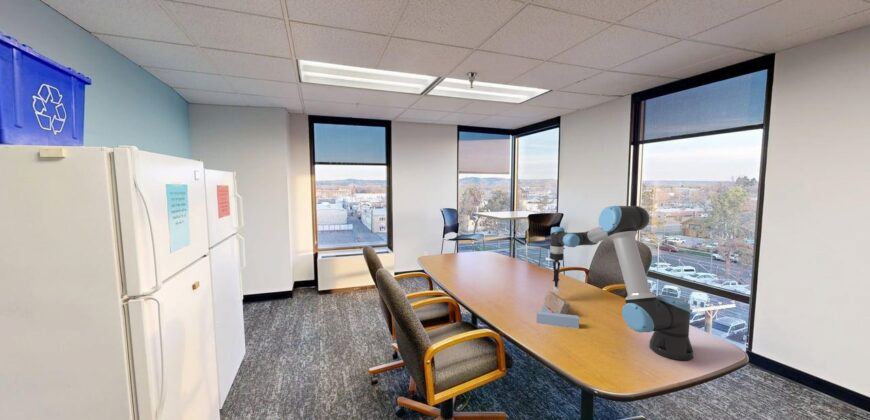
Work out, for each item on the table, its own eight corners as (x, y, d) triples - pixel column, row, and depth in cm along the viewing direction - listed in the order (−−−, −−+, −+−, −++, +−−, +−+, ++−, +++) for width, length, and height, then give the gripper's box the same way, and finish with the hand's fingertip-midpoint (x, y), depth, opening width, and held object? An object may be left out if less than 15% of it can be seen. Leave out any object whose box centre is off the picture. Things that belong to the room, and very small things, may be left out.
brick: (571, 304, 173) (563, 302, 172) (565, 318, 174) (558, 316, 173) (554, 292, 189) (547, 290, 188) (549, 305, 190) (542, 303, 189)
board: (578, 328, 160) (579, 318, 160) (536, 323, 167) (536, 313, 166) (576, 319, 172) (577, 310, 171) (537, 314, 178) (537, 305, 178)
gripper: (564, 255, 187) (562, 295, 188) (563, 251, 199) (561, 288, 201) (550, 254, 189) (549, 294, 191) (550, 250, 201) (549, 287, 203)
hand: (555, 291), depth 196 cm, fingers closed
